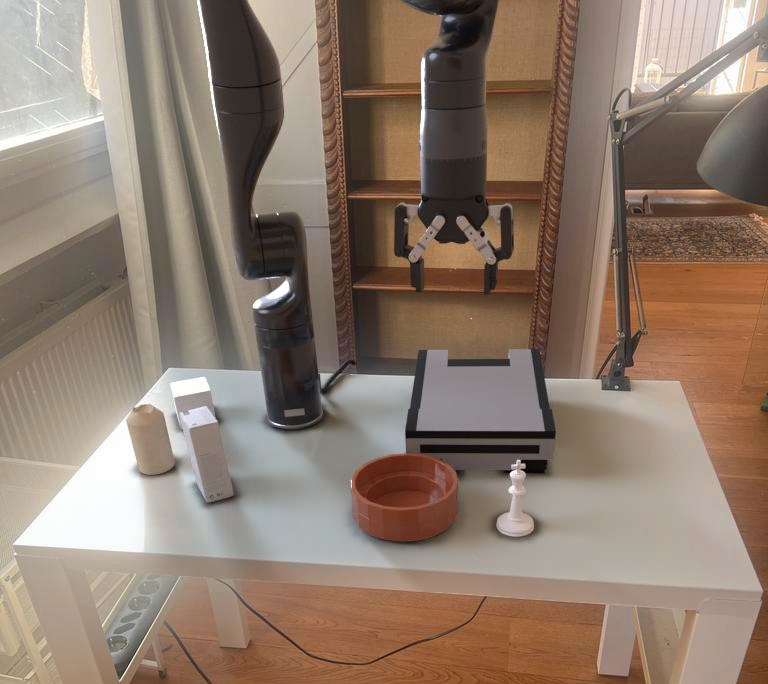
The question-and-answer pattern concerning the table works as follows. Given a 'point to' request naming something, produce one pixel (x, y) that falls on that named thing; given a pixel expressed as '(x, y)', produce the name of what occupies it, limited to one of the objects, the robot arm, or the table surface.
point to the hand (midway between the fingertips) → (453, 291)
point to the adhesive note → (191, 395)
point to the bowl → (405, 497)
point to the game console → (481, 412)
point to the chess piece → (516, 507)
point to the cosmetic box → (207, 453)
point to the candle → (150, 439)
